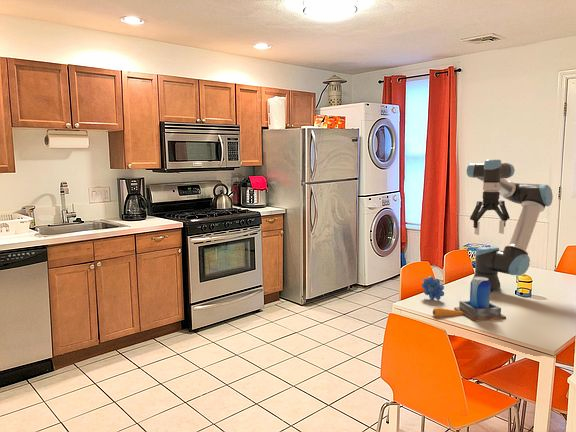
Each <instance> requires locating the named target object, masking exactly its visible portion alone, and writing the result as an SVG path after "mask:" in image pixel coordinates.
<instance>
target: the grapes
mask: <svg viewBox="0 0 576 432" xmlns="http://www.w3.org/2000/svg"><path fill="white" fill-rule="evenodd" d="M422 279H423V281H422V283H421V288H422V289H423V293H424V294H425V296H428V297H429V299H431V300H435V299H436V300H437V301H440V299H442V298H441V297H443V296H445V292H444V290H445V286H444V285H443V284H441V282H440V280H439V278H434V277H433V276H432V275H430V276H428V278H427V277H424V278H422Z"/></svg>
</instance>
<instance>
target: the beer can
mask: <svg viewBox="0 0 576 432" xmlns="http://www.w3.org/2000/svg"><path fill="white" fill-rule="evenodd" d="M472 279H473V280H471V281H470V286H469V287H470V289H469V301H470V306H472V307H473V308H475V309H484V308H489V303H491V302H490V299H491V291H490V282H489V279H488V278H486V277H474V276H473V277H472Z"/></svg>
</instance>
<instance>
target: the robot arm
mask: <svg viewBox="0 0 576 432" xmlns="http://www.w3.org/2000/svg"><path fill="white" fill-rule="evenodd" d="M515 171H516V170H515V167H514V165H513V164H511V163H510V162H509V163H508V162H504V163H503V162H502V160H501V159H486V160H485V161H484V162H481V163H480V162H475V163H474V162H473V163H470V164H468V165H467V168H466V176H467V177H469V178H471V179H472V178H475V179H478V180H479V181H481V182H483V184H482V201H479V200H477V201H476V206H475V208H473V211H472V213H471V214H470V218H469V219H470V220H471V221H472V222H473V228H474V235H476V236H480V227H481V226H480V219H482V217H483V216H484V214H485V213H486V212H487V211H495V214H497V216H498V217H499V218H500V219H499V223H498V224H499V226H498V234H501V235H504V233H505V227H506V223H507V221H508V220H510V215H509V212H508V208H507V207H506V203H505V200H508V201H509V202H511V203H515V204H519V205H521V207H522V209H521V210H520V211H521V212H520V214H519V216H518V220H517V222H516V225H515V228H514V231H513V234H512V236H511V239H510V241H509V244H507V245H505V246H504V249H503V250H500V247H499V246H481V247H477V248H476V250H475V262H474V264H475V265H474V266H475V267H474V275H473V277H486V278H488V279H489V282H490V292H500V290H501V287H502V286H501V283H500V280H499V276H498V274H499V273H501V274H502V273H503V274H505V275H510V276H515V277H517V276H518V277H519V276H523V275H524V274H526V273H527V271H528V269H529V268H530V262H531V259H530V256H529V253H528V252H527V248H528V247H529V243H530V240H531V238H532V235H533V233H534V229H535V227H536V224H537V222H538V218H539V215H540V213H542V212H544V210H545V209H546V207H550V206H551V205H552V203H553V198H554V197H553V196H554V195H553V190H552V187H551V186H550V185H548V184H542V183H540V184H537V183H536V184H535V183H519V182H513V181H512V180H507V179H509V178H512V177H513V176H514V174H515ZM500 196H501V197H502V198H503V199H505V200H500ZM472 280H473V278H472ZM472 280H471V281H472Z"/></svg>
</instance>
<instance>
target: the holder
mask: <svg viewBox="0 0 576 432" xmlns="http://www.w3.org/2000/svg"><path fill="white" fill-rule="evenodd" d="M453 310H455V311H462V312H463V315H462V316H465V317H466V318H468V319H469V320H471V321H472V322H480V321H482V322H484V321H493V320H506V319H507V316H506V315H504V314H502V308H501V307H499V306H497V305H496V304H495V303H494V304H493V303H491V302H490V303H489V308H484V309H475V308H473V307H472V306H470V300H459V306H456V307H453Z"/></svg>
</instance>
